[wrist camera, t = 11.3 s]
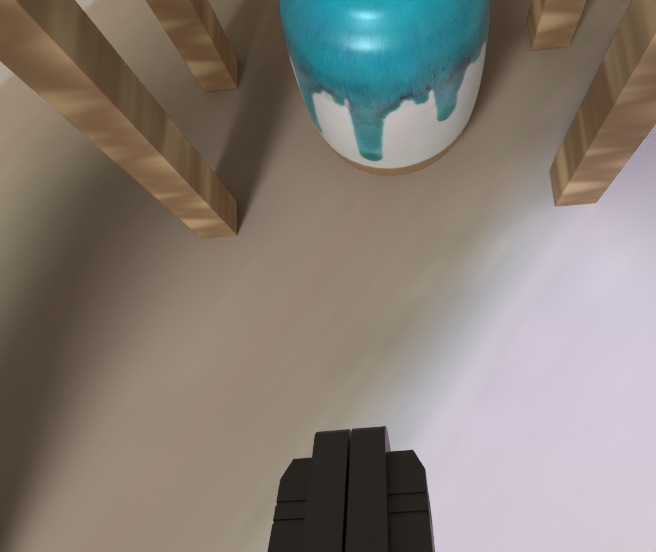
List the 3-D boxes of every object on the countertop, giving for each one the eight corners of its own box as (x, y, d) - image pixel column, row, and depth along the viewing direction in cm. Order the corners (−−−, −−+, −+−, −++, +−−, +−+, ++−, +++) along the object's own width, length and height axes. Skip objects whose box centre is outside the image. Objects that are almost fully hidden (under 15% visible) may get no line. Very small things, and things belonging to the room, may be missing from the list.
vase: (363, 39, 43) (319, -254, 25) (500, 91, 40) (564, -195, 22) (292, 161, 41) (187, -56, 23) (429, 223, 38) (435, 33, 20)
